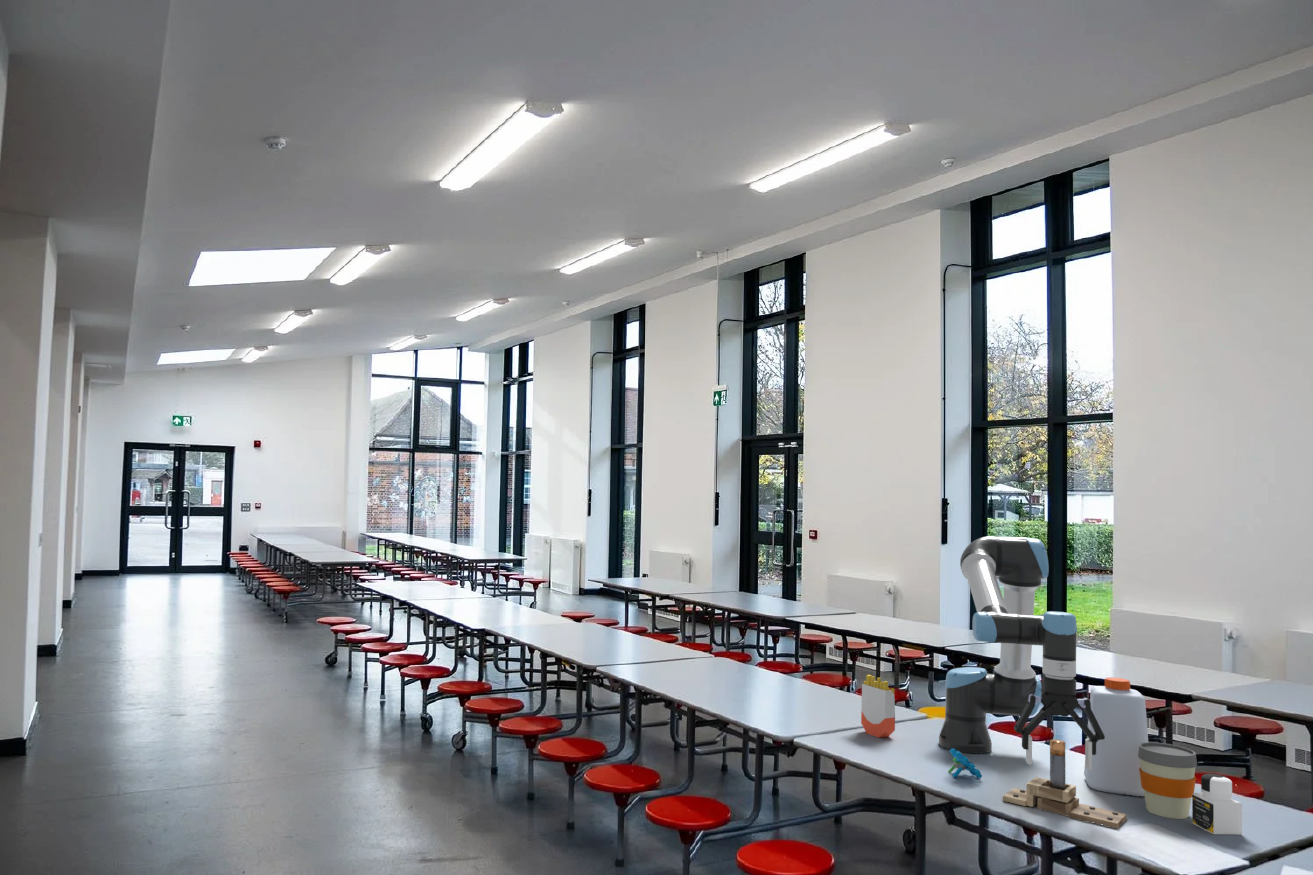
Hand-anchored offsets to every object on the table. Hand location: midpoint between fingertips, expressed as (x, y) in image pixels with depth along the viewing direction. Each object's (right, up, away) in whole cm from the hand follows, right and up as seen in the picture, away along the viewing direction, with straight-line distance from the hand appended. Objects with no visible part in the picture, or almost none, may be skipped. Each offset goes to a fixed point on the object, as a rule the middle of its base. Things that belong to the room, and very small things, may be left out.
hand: (1058, 765), depth 218 cm
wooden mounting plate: (+4, -10, -4) cm, 11 cm away
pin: (0, -10, -1) cm, 10 cm away
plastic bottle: (+24, -13, +19) cm, 33 cm away
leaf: (-4, -10, +2) cm, 11 cm away
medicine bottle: (+32, -11, -11) cm, 35 cm away
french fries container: (-28, -14, +65) cm, 72 cm away
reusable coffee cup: (+26, -12, 0) cm, 29 cm away
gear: (-15, -12, +23) cm, 30 cm away
